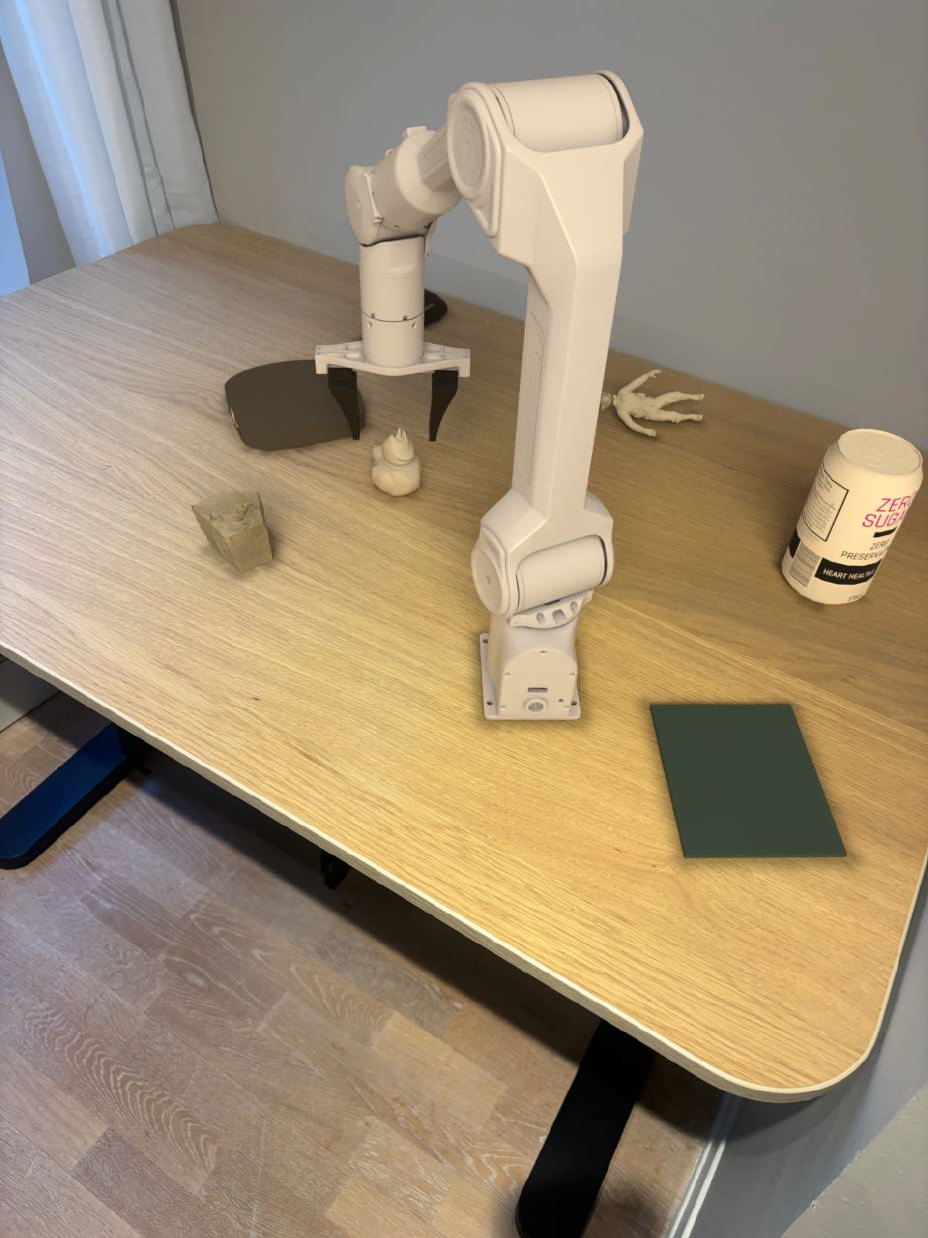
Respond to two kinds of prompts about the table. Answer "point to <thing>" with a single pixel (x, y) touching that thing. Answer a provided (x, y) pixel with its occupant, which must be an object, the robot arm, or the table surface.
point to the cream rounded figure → (396, 465)
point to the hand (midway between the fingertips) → (394, 435)
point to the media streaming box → (286, 406)
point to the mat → (743, 783)
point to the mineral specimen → (236, 528)
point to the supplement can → (852, 515)
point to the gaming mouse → (432, 307)
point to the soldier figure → (647, 405)
